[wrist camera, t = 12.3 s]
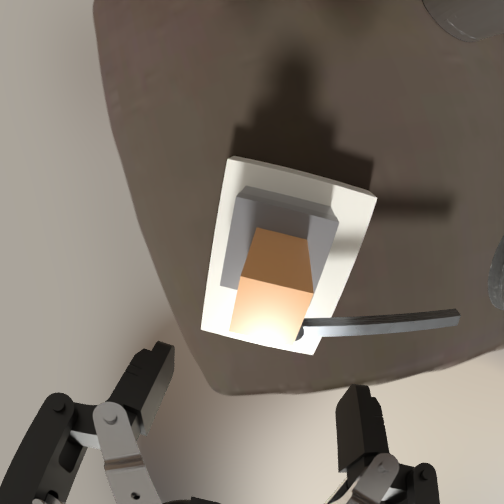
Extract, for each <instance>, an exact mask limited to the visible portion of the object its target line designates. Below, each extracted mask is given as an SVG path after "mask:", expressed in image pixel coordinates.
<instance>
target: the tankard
mask: <svg viewBox="0 0 504 504" xmlns="http://www.w3.org/2000/svg"><path fill="white" fill-rule="evenodd" d="M488 293H489V298H490V300H491V303H492V304H493V305H494V306H495V307H496V308H498V309H500V310H504V236H503V237H502V239H501V241H500V243H499V245H498V247H497V250H496V252H495V255H494V257H493V260H492V264H491V268H490V272H489V278H488Z"/></svg>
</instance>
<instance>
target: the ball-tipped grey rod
mask: <svg viewBox="0 0 504 504" xmlns="http://www.w3.org/2000/svg"><path fill="white" fill-rule="evenodd" d="M460 316H461V315H460V314H459V312H458V311H457V310H456V309H449V310H440V311H430V312H419V313H407V314H394V315H379V316H360V317H335V318H304V320H303V322H302V325H301V327H300V330H299V332H298V334H297V337H296V339H295V341H298V340H299V339H301V338H302V337H330V336H354V335H371V334H385V333H397V332H407V331H417V330H426V329H434V328H442V327H449V326H456V325H457V324H458V321H459V319H460Z"/></svg>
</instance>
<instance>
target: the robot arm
mask: <svg viewBox="0 0 504 504" xmlns="http://www.w3.org/2000/svg"><path fill="white" fill-rule="evenodd" d="M423 3H424V5H425V7H426V9H427V10H428V12H429V13H430V15H431V16H432V17H433V19H434V20H435V21H436V22H437V23H438V24H439V25H440V26H441V27H442V28H443V29H444V30H445V31H447V32H448V33H449V34H451V35H452V36H454V37H456V38H458V39H460V40H462V41H466V42H475V41H479V40H482V39H485V38H488V37H492V36H496V35H499V34H503V33H504V0H423ZM174 350H175V349H174V346H173V345H169V344H166V343H163V342H160V341H158V342H157V343H156V344H155V346H154V348H153V349H152V351H150V350H147V349H143V350H141V351H140V352H138V353H137V354H135V355H134V357H133V359H132V360H131V362H130V365H129V366H128V367H127V369H126V371H125V372H124V374H123V376H122V377H121V379H120V381H119V382H118V384H117V386H116V387H115V389H114V391H113V393H112V394H111V396H110V398H109V399H108V400H107V401H105V402H104V403H101V404H99V405H86V404H80V403H75V402H73V401H72V399H71V398H70V397H69V396H68V395H66V394H64V393H53V394H51V395H49V396H48V397H47V398H46V400H45V401H44V403H43V405H42V406H41V408H40V410H39V411H38V414H37V415H36V417H35V418H34V420H33V422H32V424H31V426H30V427H29V429H28V431H27V433H26V435H25V436H24V438H23V440H22V442H21V444H20V446H19V448H18V450H17V452H16V454H15V456H14V458H13V460H12V462H11V464H10V466H9V468H8V470H7V473H6V475H5V477H4V479H3V481H2V484H1V486H0V504H65V502H66V500H67V497H68V495H69V492H70V489H71V487H72V484H73V482H74V479H75V477H76V474H77V472H78V469H79V467H80V464H81V462H82V460H83V457H84V455H85V452H86V450H87V448H88V447H92V448H98V449H101V452H102V455H103V459H104V469H105V473H106V476H107V479H108V482H109V485H110V488H111V490H112V493H113V496H114V498H115V501H116V503H117V504H162V502H161V500H160V498H159V496H158V494H157V492H156V490H155V488H154V485H153V483H152V481H151V479H150V477H149V474H148V472H147V469H146V467H145V464H144V462H143V460H142V457H141V454H140V451H139V449H138V446H137V444H136V441H137V439H138V437H139V435H140V434H142V435H145V436H147V434H148V432H149V430H150V427H151V425H152V422H153V420H154V418H155V415H156V413H157V411H158V408H159V406H160V404H161V401H162V399H163V397H164V394H165V392H166V390H167V388H168V385H169V383H170V381H171V378H172V375H173V372H174ZM382 416H383V415H382V410H381V406H380V404H379V403H378V401H377V399H376V398H375V397H371V394H370V389H369V387H368V386H366V385H356V384H352V385H351V386H350V387H349V388H348V390H347V391H346V393H345V394H344V395H343V397H342V398H341V399H340V401H339V402H338V404H337V407H336V428H337V444H338V468H339V472H347V478H346V479H344V481H343V482H342V483H341V484H340V486H339V487H338V488H337V489H336V491H335V492H334V493H333V494H332V495H331V496H330V497H329V499H328V500H327V501H326V502H325V503H324V504H440V501H439V491H438V483H437V476H436V471H435V469H434V467H433V466H432V465H430V464H428V463H421V464H419V465H417V466H416V467H412V466H407V465H403V464H400V463H398V460H397V459H396V458H395V457H394V456H393V455H391V454H390V453H389V448H388V443H387V436H386V431H385V426H384V420H383V417H382ZM163 504H220V503H217V502H213V501H208V500H204V499H199V498H195V497H191V500H174V501H169V502H166V503H163Z"/></svg>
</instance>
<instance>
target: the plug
mask: <svg viewBox="0 0 504 504" xmlns="http://www.w3.org/2000/svg"><path fill="white" fill-rule="evenodd" d="M338 225H339V221H338V219H337V217H336V216H333V215H329V214H326V213H322V212H318V211H315V210H311V209H307V208H303V207H299V206H295V205H291V204H287V203H283V202H279V201H275V200H271V199H267V198H262V197H258V196H254V195H250V194H245V193H241V192H239V193H238V195H237V196H236V199H235V204H234V210H233V215H232V220H231V225H230V231H229V236H228V242H227V247H226V253H225V258H224V264H223V270H222V275H221V281H220V286H223V287H227V288H231V289H235V290H237V295H236V299H235V304H234V309H233V314H232V318H231V323H230V328H229V331H230V332H234V333H238V334H242V335H246V336H251V337H255V338H259V339H264V340H268V341H273V342H277V343H282V344H287V345H292V346H293V344H294V342H295V339H296V337H297V334H298V332H299V330H300V327H301V325H302V322H303V320H304V317H305V315H306V312H307V310H308V307H309V306H310V303H311V301H312V298H313V296H314V293H315V290H316V288H317V285H318V282H319V280H320V277H321V274H322V272H323V269H324V266H325V263H326V260H327V258H328V255H329V252H330V249H331V246H332V243H333V240H334V237H335V234H336V231H337V228H338Z"/></svg>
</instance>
